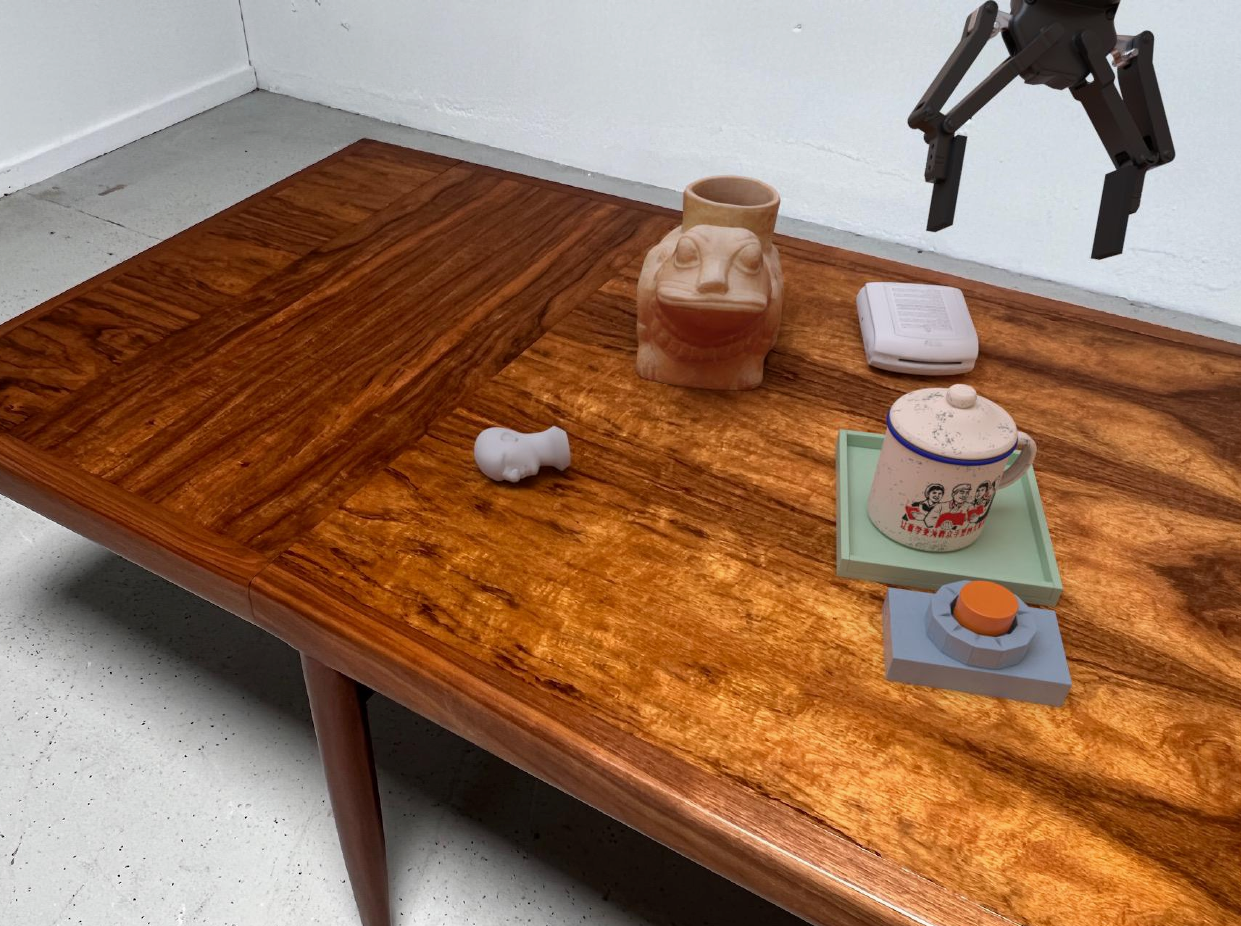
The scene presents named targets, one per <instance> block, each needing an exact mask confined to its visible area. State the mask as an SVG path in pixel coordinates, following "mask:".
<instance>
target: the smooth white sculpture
mask: <svg viewBox="0 0 1241 926" xmlns="http://www.w3.org/2000/svg"><path fill="white" fill-rule="evenodd" d="M473 456H474V461H475V463H476V465H477V467H478V468H479V470H480V471H481V472H482V473H483V474H484V475H485V476H486V477H488V478H490V479H491V480H494V481H496V482H502V481H503V480H505V481H509V482H511V483H518V482H519V481H520V479H526V477H531V476H536V475H537V474H539V473H538V472H539V470H540V467H542V466H543V467H545V466H547V467H554V468H555V469H557V470H559V471H560V472H563V471H564V470H565V469H566V468H568V467H569V466H571V462H572V461H571V460H572V459H571V449H570V443H569V438H568V434H567V431H566V430H564V429H562V428H560V427H557V426H556V425H552V426H551V427H549V428H548V429H547V430H543V431H540V432H534V433H521V432H518V431H516V430H513V429H511V428H506V427H499V426H494V427H489V428H486V429H484V430H483V431H481V432H480V433H479V435H478V436H477V437H476V439H475V442H474V446H473Z"/></svg>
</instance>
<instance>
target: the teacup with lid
mask: <svg viewBox="0 0 1241 926" xmlns="http://www.w3.org/2000/svg"><path fill="white" fill-rule="evenodd" d="M885 419H886V431H885V438H884V442H883V445H882V449H881V453H880V456H879V460H878V464H877V468H876V471H875V475H874V479H873V482H872V486H871V490H870V494H869V497H868V501H867V511H868V515H869V517H870V519H871V521H872V522H873V524H874V525H875V526H876V527H877V528H878V529H879V530H880V531H881V532H882V533H883V534H885V535H886V536H888V537H889V538H891V539H893V540H894V541H896V542H898V543H901V544H903V545H906V546H908V547H912V548H915V549H920V550H925V551H935V552H945V551H953V550H957V549H961V548H964V547H966V546H968V545H970V544H971V543H973V542H974V541H975V540H976V539H977V538H978V537H979V536H980V534H981V532H982V529H983V527H984V524H985V521H986V518H987V516H988V513H989V510H990V507H991V505H992V502H993V499H994V497H995V494H996V491H997V490H999V489H1002V488H1005V487H1007V486H1009V485H1011V484H1013V483H1014V482H1016V481H1017V480H1018V479H1019V478H1021V477H1022V476H1023V475H1024V474H1025V472H1026V471H1027V470H1028V469H1029V467H1030V466H1031V464H1032V465H1033V463H1034V461H1035V458H1036V456H1037V453H1038V452H1037V451H1038V450H1037V444H1036V441H1034V440H1033V438H1032V436H1030V435H1029V434H1027V433H1025V432H1024V431H1019V430H1018V428H1017V425H1016V422H1015V420H1014V419H1013V418H1012V416H1011V415H1010V414H1009V413H1008V412H1007V411H1006V410H1005V409H1004V408H1002V407H1001V406H1000V405H998V404H997V403H995V402H994V401H991V400H990V399H988V398H986V397H984V396H981V395H978V394H977V391H976V390H975V388H974V387H972V386H970V385H968V384H963V383H956V384H953V385H951V386H950V387H949V388H947V387H929V388H920V389H916V390H912V391H910V392H908V393H905V394H903V395H902V396H900V397H899V398H898V399H897V400H895V402H894V403H893V404H892V405H891V406H890V408H889V410H888V411H887V414H886V418H885ZM1018 446H1021V449H1020V450H1021V452H1020V454H1019V456H1018V458H1017V459H1016V460H1015V462H1014V463H1013V464H1012V465H1011V466H1010V467H1009V468H1008V469H1006V470H1005V471H1004V469H1005V466H1006V464H1007V461H1008V458H1009V456H1010V455H1011V454H1012V453H1013V452H1014V450H1017V449H1016V448H1017V447H1018Z"/></svg>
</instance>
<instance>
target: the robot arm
mask: <svg viewBox="0 0 1241 926" xmlns="http://www.w3.org/2000/svg"><path fill="white" fill-rule="evenodd" d="M1121 1H1122V0H1010V2H1009V7H1010V12H1005V11H1003V10H1001V9H1000V8H999V4H998V2H996V1H995V0H986V1H985V2H984V3H982V4H981V5H980V6H979V7H977V8H976V9H975V10H973V11H972V12H971V13H970V14H968V16H967V17H966V19H965V22H964V27H963V30H962V32H961V33H962V34H961V38H960V41H959V42H958V44H957V45H956V47H955V48H954V49H953V51H952V53H951V54H950V56H949V57H948V58H947V60H946V61H945V62H944V64H943V66H942V67H941V68H940V70H939V72H938V73H937V75H936V76H935V77H934V78H933V80H932V82H931V83H930V85H929V86H928V87H927V89H926V91H925V92H924V94H923V95H922V97H921V98H920V100H919V101H918V102H917V104H916V105H915V106H914V108H913V109H912V111H911V112H910V114H909V115H908V118H907V126H908V127H909V128H910V129H911V130H919V131H921V132H922V133H923V141H924V143H925V144H926V145H928V150H927V154H926V155H927V156H926V162H925V168H924V174H923V177H924V181H925V183H928V184H932V185H933V186H932V192H931V198H930V204H929V211H928V217H927V223H926V229H925V231H926V232H930V233H937V232H940V231H942V230H944V229H947V228H949V227H951V226H953V225H954V219H955V214H956V208H957V202H958V197H959V196H958V195H959V192H960V191H959V190H960V185H961V178H962V171H963V167H964V159H965V154H966V150H967V149H966V147H967V141H968V135H963V134H957V135H955V134H956V132H957V131H959V130H960V129H961V128H962V126H964V125H965V124H966V123H967V122H968V121H969V120H971V118H973V117H974V116H975V115H976V114H977V113H978V112H979V111H981V109H983V108H984V107H985V106H986V105H987V104H988V103H989V102H990V101H991V100H992V99H994V97H996V96H997V95H998V94H999V93H1000V92H1001V91H1002V90H1003V89H1005V87H1007V86H1008V85H1009V84H1010V83H1011V82H1012V81H1014V80H1015V79H1016V78H1017V77H1018V76H1019V77H1020V78H1021V79H1022V80H1023V81H1024V82H1023V84H1026V85H1030V86H1039V85H1045V86H1047V87H1048V88H1049V89H1052V90H1058V91H1063V90H1065V89H1068V90H1069V92H1070V95H1071V96H1072V98H1073V99H1074V100H1075V101H1077V102H1080V104H1081V105H1082V107H1083V109H1084V111H1085V113H1086V115H1087V117H1088V118H1089V120H1090V122H1091V125H1092V127H1093V128H1094V130H1095V132H1096V134H1097V136H1098V138H1099V140H1100V141H1101V143H1102V145H1103V147H1104V149H1105V151H1106V153H1107V155H1108V157H1109V158H1110V160H1111V162H1112V165H1113V166H1114V168H1115V169H1114V170H1113V171H1109V172H1107V173H1105V175H1104V180H1103V185H1102V191H1101V197H1100V202H1099V208H1098V212H1097V213H1098V214H1097V220H1096V226H1095V232H1094V235H1093V236H1094V237H1093V242H1092V249H1091V255H1090V260H1091V259H1092V260H1097V261H1100V260H1104V259H1109V258H1112V257H1115V256H1119V255H1122V254H1123V251H1124V247H1125V246H1124V245H1125V240H1126V234H1127V229H1128V223H1129V218H1130V215H1133V214H1136V213H1137V211H1138V210H1139V208H1140V206H1141V201H1142V195H1143V194H1142V193H1143V190H1144V185H1145V184H1144V183H1145V179H1146V174H1147V172H1148V171H1151V170H1153V169H1156V168H1159V167H1162V166H1164V165H1167V164H1170V163H1172V162H1173V161H1174V160H1175V159H1176V150H1175V145H1174V141H1173V138H1172V134H1171V133H1172V132H1171V130H1170V126H1169V121H1168V117H1167V113H1166V110H1165V106H1164V101H1163V97H1162V94H1161V93H1162V92H1161V90H1160V86H1159V81H1158V77H1157V73H1156V70H1155V66H1154V51H1155V35H1154V33H1153V32H1152V31H1151V30H1149V29H1148V30H1143V31H1141V32H1140V33H1138V34H1136V35H1128V34H1117V30H1116V27H1115V18H1116V15H1117V13H1118V9H1119V7H1120V5H1121ZM999 33H1000V35H1001V39H1002V41H1003V44H1004V45H1005V49H1006V51H1007V53H1008V55H1009V56H1008V57H1006V58H1005V59H1004V60H1003V61H1002V62H1001V63H1000V64H999V65H998V66H996V68H995V69H993V70H992V71H991V72H990V73H989V75H988V76H986V77H985V79H983V80H982V81H981V82H980V83H979V84H978V85H976V86H975V87H974V88H973V89H972V90H971V91H970V92H969V93H968V94H966V95H965V96H964V97H963V98H962V99H961V100H959V102H957V104H955V106H953V107H952V108H951V109H950V110H949V111H948V112H947V113H943V112H941V110H942V109H943V107H944V106H945V104H946V103H947V102H948V101H949V99H950V97H951V96H952V94H953V93H954V91H955V90H956V88H958V86H959V84H960V83H961V81H962V80H963V79H964V77H965V75H966V74H967V73H968V71H969V70H970V68H971V66H972V65H973V64H974V62H975V61H976V59H977V58H978V57H979V55H980V53H981V52H982V51H983V49H984V48H985V46H986V44H987V43H988V42H989V41H992V40H993V39H994V38H995V37H997V36H998V34H999ZM1109 55H1111V56H1112V58H1113V59H1112V60H1111V64H1110V62H1109V61H1108V58H1107V56H1109ZM1112 67H1113V68H1116V74H1115V72H1114V70H1113V68H1112ZM1089 75H1091V76H1092V78H1093V80H1092V81H1088V80H1087V78H1088V77H1089ZM1116 76H1117V77H1116ZM1116 78H1117V83H1118V88H1119V90H1118V88H1117V86H1116V84H1115V80H1116ZM1119 91H1120V92H1119Z"/></svg>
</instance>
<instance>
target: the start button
mask: <svg viewBox="0 0 1241 926" xmlns="http://www.w3.org/2000/svg"><path fill="white" fill-rule="evenodd" d="M1018 608H1019V604H1018V600H1017V598H1016V597H1015V595H1014V594H1013V593H1012V592H1011V591H1009V590H1008V589H1007V588H1005V587H1003V586H1001V585H999V584H996V583H993V582H989V581H973V582H969V583H967V584H966V585H964V586H963V587H962V589H961V591H960V593H959V596H958V599H957V602H956V604H955V607H954V616H955V619H956V620H957V622H958V623H959V624H960V625H961V626H962V627H964V628H966V629H968V630H970V631H972V632H974V633H976V634H978V635H983V636H990V637H997V636H1001V635H1003V634H1005V633H1007V632H1008V631H1009V630H1010V628H1011V625H1012V623H1013V621H1014V618H1015V616H1016V613H1017V611H1018Z"/></svg>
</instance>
